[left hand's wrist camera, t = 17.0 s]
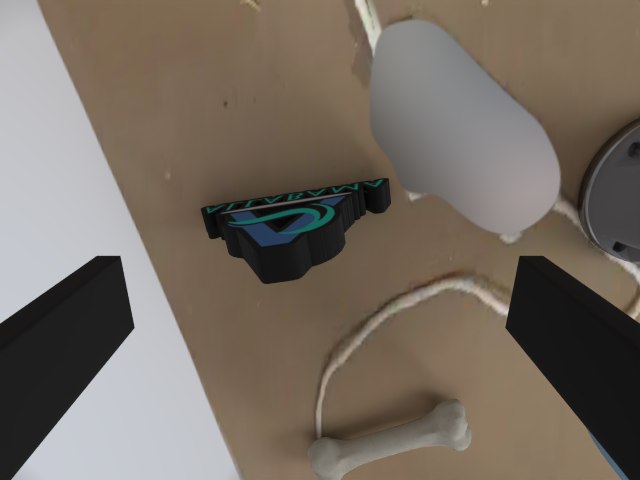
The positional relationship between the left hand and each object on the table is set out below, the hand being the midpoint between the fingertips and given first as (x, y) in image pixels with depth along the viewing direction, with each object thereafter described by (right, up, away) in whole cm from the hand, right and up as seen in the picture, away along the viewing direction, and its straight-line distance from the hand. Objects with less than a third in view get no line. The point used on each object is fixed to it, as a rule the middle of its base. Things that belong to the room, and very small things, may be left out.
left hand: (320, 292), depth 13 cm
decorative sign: (-2, +5, +26) cm, 27 cm away
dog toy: (+8, -22, +36) cm, 43 cm away
